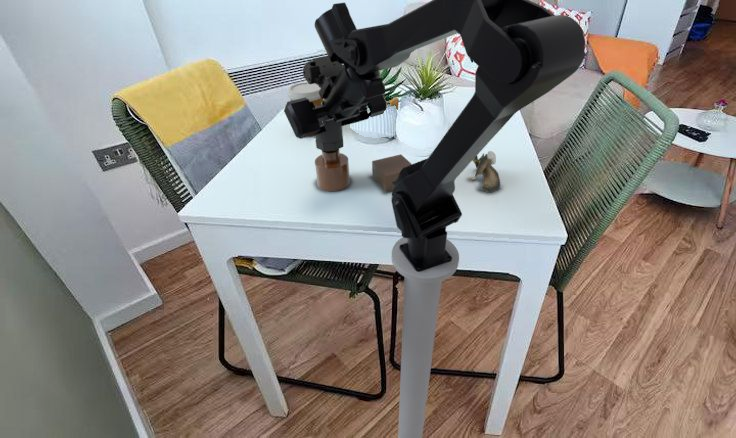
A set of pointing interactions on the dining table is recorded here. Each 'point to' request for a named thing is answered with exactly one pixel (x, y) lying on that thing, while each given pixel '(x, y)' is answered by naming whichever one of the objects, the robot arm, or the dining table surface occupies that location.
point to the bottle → (332, 171)
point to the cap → (330, 136)
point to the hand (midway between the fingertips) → (325, 128)
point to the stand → (388, 170)
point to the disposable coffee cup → (305, 93)
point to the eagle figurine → (487, 171)
